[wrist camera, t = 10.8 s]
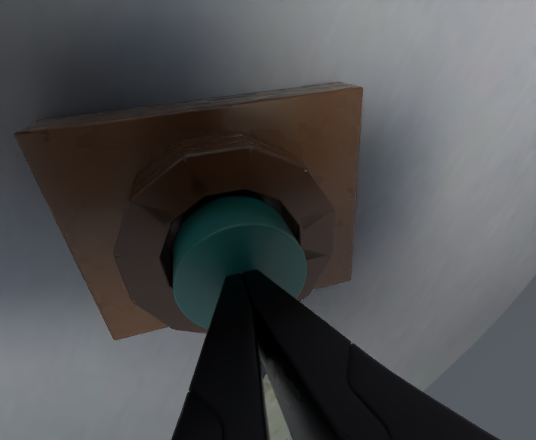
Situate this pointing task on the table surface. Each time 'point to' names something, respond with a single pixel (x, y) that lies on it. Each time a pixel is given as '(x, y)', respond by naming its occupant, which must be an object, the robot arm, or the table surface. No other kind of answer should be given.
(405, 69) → the table surface
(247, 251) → the button
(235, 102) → the button block
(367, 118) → the table surface
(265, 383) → the stone tool
